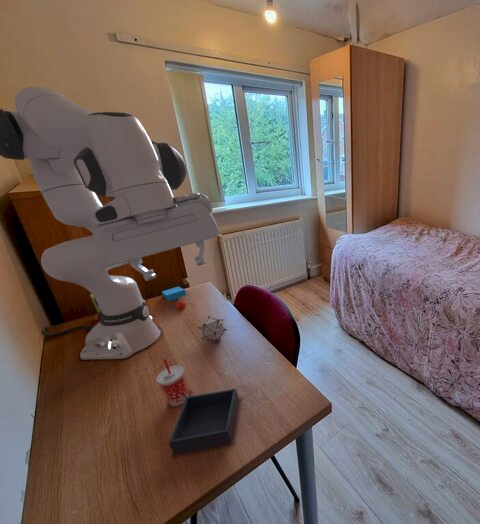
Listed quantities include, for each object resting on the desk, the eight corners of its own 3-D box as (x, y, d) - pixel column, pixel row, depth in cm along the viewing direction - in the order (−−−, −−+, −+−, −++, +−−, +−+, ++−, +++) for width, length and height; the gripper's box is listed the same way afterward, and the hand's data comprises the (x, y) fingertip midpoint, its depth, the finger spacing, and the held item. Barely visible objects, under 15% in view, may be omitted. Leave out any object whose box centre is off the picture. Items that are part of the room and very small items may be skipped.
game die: (214, 344, 103) (205, 318, 104) (235, 336, 103) (226, 310, 104) (198, 349, 94) (189, 321, 96) (220, 340, 94) (211, 312, 95)
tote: (174, 455, 64) (168, 442, 62) (190, 408, 75) (186, 396, 73) (231, 443, 66) (227, 431, 64) (239, 399, 77) (236, 388, 75)
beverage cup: (190, 404, 76) (176, 364, 70) (164, 411, 74) (147, 371, 68) (193, 387, 81) (180, 348, 75) (168, 393, 79) (153, 354, 74)
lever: (166, 306, 128) (173, 312, 115) (161, 291, 127) (167, 296, 113) (183, 300, 133) (192, 306, 119) (178, 286, 131) (186, 290, 117)
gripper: (207, 191, 60) (230, 253, 63) (94, 217, 54) (126, 284, 57) (204, 189, 54) (229, 257, 58) (76, 218, 48) (113, 292, 51)
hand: (177, 271), depth 57 cm, fingers open, 8 cm apart
